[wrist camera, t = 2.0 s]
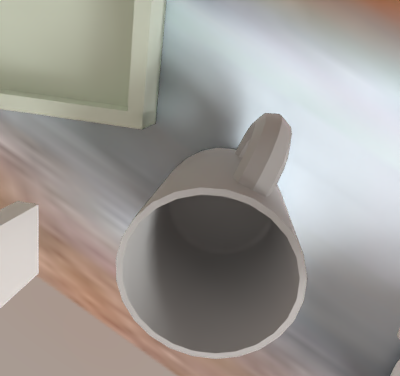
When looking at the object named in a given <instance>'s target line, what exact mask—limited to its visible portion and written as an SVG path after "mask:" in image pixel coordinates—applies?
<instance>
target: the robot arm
mask: <svg viewBox="0 0 400 376" xmlns="http://www.w3.org/2000/svg"><path fill="white" fill-rule="evenodd" d="M38 273H39V270H38V204H33V203H27V202H21V201H17V202H15V203H13V204H11V205H9V206H7V207H5V208H3V209H1V210H0V308H1V307H2V306H3V305H4V304H5V303H6V302H8V301H9V300H10V299H11V298H12V297H13V296H14V295H15V294H16V293H17V292H19V291H20V290H21V289H22V288H23V287H24V286H25V285H26V284H27V283H28V282H30V281H31V280H32V279H33V278H34V277H35V276H36V275H37V274H38ZM397 337H398V338H399V340H400V328H399V331H398V334H397Z"/></svg>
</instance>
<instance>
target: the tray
mask: <svg viewBox="0 0 400 376" xmlns="http://www.w3.org/2000/svg"><path fill="white" fill-rule="evenodd" d="M165 11H166V0H0V109H3V110H10V111H17V112H24V113H31V114H38V115H45V116H52V117H59V118H66V119H73V120H80V121H87V122H94V123H101V124H107V125H114V126H121V127H128V128H135V129H144V128H146V127H149V126H151V125H153V124H156V114H157V102H158V91H159V79H160V68H161V57H162V45H163V34H164V22H165Z"/></svg>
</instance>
